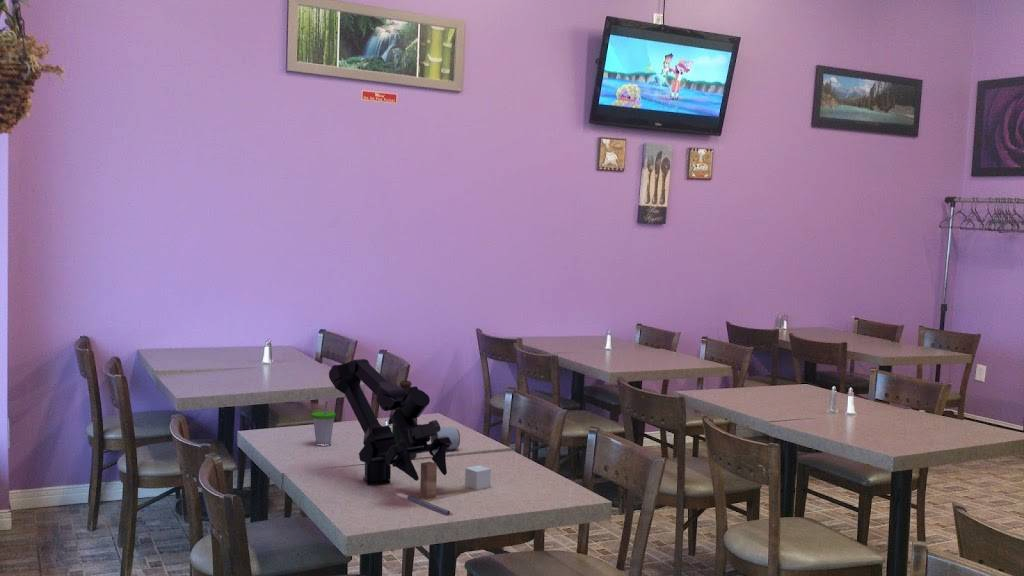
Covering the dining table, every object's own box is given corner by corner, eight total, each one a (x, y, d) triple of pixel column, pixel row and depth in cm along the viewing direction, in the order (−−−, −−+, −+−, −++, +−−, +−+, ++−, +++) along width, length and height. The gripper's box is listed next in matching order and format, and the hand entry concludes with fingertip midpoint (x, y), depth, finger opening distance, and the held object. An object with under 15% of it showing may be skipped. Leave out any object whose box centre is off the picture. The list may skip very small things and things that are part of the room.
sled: (415, 499, 254) (415, 462, 254) (478, 485, 269) (479, 450, 268) (428, 504, 250) (429, 467, 249) (492, 490, 264) (493, 454, 264)
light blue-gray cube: (465, 485, 265) (465, 468, 264) (478, 482, 268) (479, 465, 268) (476, 489, 261) (476, 471, 261) (490, 486, 264) (490, 469, 264)
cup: (316, 441, 318) (316, 396, 317) (338, 442, 317) (339, 398, 316) (307, 446, 310) (308, 401, 309) (331, 448, 309) (331, 402, 308)
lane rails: (407, 499, 254) (407, 496, 254) (479, 484, 271) (479, 480, 271) (446, 515, 242) (446, 511, 242) (520, 498, 258) (520, 494, 258)
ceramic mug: (461, 451, 309) (461, 427, 309) (437, 453, 306) (437, 429, 305) (449, 444, 319) (450, 421, 318) (426, 446, 315) (426, 423, 315)
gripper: (391, 415, 248) (416, 465, 241) (448, 407, 261) (473, 454, 253) (374, 439, 255) (397, 489, 247) (430, 430, 267) (454, 477, 260)
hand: (431, 477), depth 252 cm, fingers open, 9 cm apart
